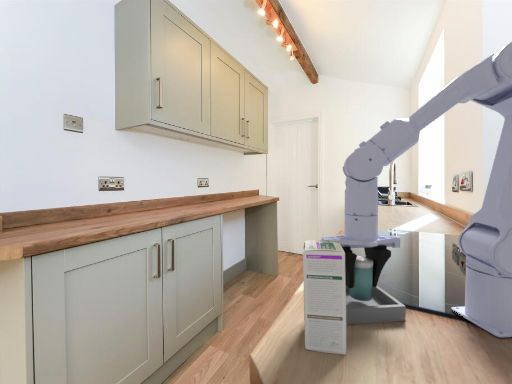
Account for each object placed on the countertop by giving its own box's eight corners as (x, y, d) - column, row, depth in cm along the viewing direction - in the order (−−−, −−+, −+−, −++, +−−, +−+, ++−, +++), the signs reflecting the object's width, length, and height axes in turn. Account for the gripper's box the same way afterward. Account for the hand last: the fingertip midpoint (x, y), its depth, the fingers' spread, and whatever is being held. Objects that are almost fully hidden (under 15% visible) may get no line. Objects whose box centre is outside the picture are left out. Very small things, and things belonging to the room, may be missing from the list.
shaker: (364, 290, 47) (365, 255, 46) (377, 300, 42) (377, 262, 42) (344, 291, 46) (345, 256, 46) (355, 301, 42) (356, 263, 42)
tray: (370, 292, 50) (370, 280, 50) (405, 320, 40) (405, 306, 40) (323, 294, 49) (323, 283, 49) (346, 324, 39) (346, 309, 39)
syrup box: (347, 356, 32) (348, 250, 31) (303, 350, 33) (303, 248, 32) (340, 330, 37) (341, 240, 37) (303, 326, 38) (303, 239, 38)
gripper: (332, 218, 39) (331, 297, 40) (413, 216, 40) (411, 293, 41) (317, 212, 46) (317, 280, 47) (387, 211, 47) (386, 277, 48)
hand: (360, 285), depth 44 cm, fingers closed on shaker, 4 cm apart
